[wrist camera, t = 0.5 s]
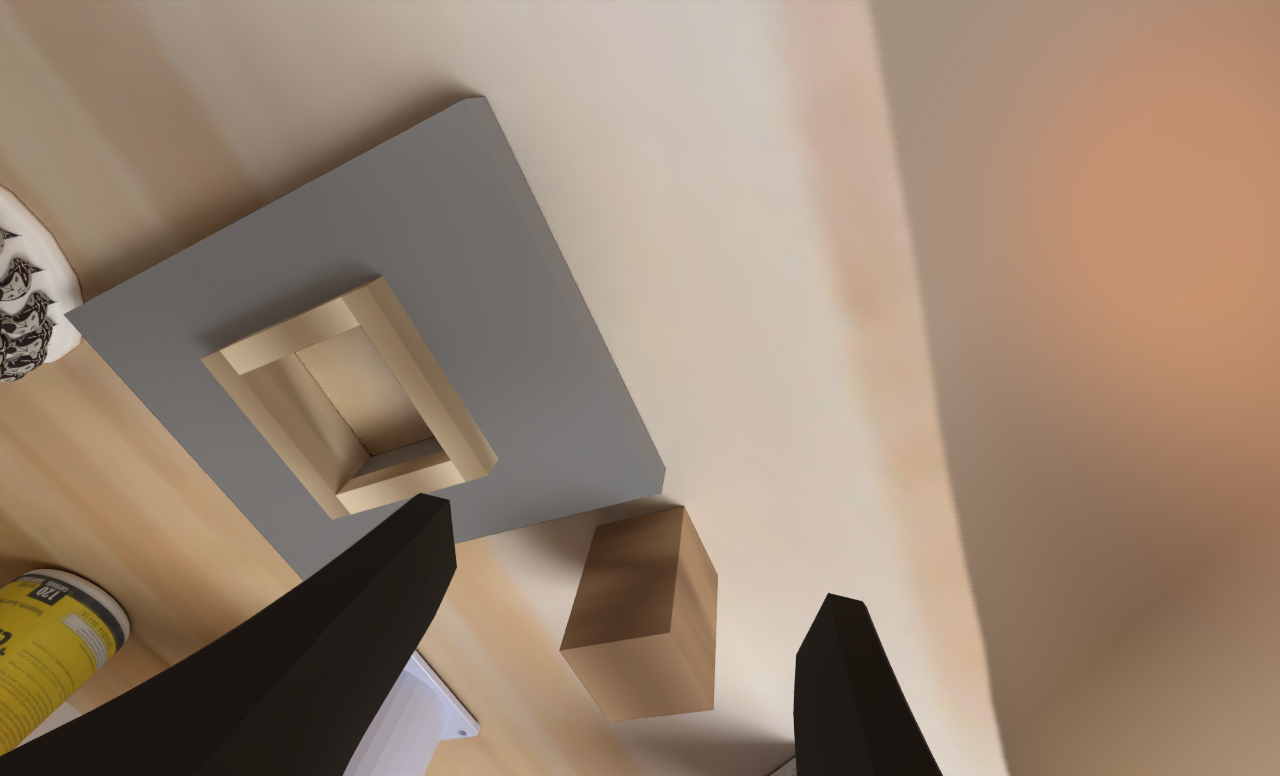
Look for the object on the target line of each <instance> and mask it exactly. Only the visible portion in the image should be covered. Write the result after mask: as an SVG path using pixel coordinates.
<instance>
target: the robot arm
mask: <svg viewBox="0 0 1280 776" xmlns="http://www.w3.org/2000/svg"><path fill="white" fill-rule="evenodd" d="M456 568H457V564H456V554H455V544H454V535H453V525H452V515H451V506H450V500H448V499H444V498H440V497H436V496H432V495H428V494H424V493H419V494H417V495H415V496H414V497H413V498H411V499H410V500H409V501H408V502H406V503H405V504H404V505H403V506H401V507H400V508H399V509H398V510H396V511H395V512H394V513H393V514H391V515H390V516H389V517H388V518H386V519H385V520H384V521H383V522H381V523H380V524H379V525H377V526H376V527H375V528H374V529H372V530H371V531H370V532H369V533H367V534H366V535H365V536H363V537H362V538H361V539H360V540H358V541H357V542H356V543H354V544H353V545H352V546H351V547H349V548H348V549H347V550H345V551H344V552H343V553H341V554H340V555H339V556H337V557H336V558H335V559H333V560H332V561H331V562H329V563H328V564H327V565H325V566H324V567H323V568H321V569H320V570H318V571H317V572H316V573H314V574H313V575H312V576H310V577H309V578H308V579H306V580H305V581H303V582H302V583H301V584H299V585H298V586H296V587H295V588H293V589H292V590H291V591H289V592H288V593H286V594H285V595H283V596H282V597H280V598H279V599H277V600H276V601H275V602H273V603H272V604H270V605H269V606H267V607H266V608H264V609H263V610H262V611H260V612H259V613H257V614H256V615H254V616H253V617H251V618H250V619H248V620H247V621H245V622H243V623H242V624H240V625H239V626H237V627H236V628H234V629H233V630H231V631H230V632H228V633H226V634H225V635H223V636H222V637H220V638H218V639H217V640H215V641H214V642H212V643H210V644H209V645H207V646H205V647H204V648H202V649H200V650H199V651H197V652H195V653H194V654H192V655H191V656H189V657H187V658H185V659H184V660H182V661H180V662H179V663H177V664H175V665H173V666H172V667H170V668H168V669H166V670H165V671H163V672H161V673H159V674H157V675H156V676H154V677H152V678H150V679H149V680H147V681H145V682H143V683H142V684H140V685H138V686H136V687H135V688H133V689H131V690H129V691H127V692H125V693H124V694H122V695H120V696H118V697H116V698H114V699H112V700H111V701H109V702H107V703H105V704H103V705H101V706H99V707H97V708H96V709H94V710H92V711H90V712H88V713H86V714H84V715H82V716H80V717H78V718H76V719H74V720H72V721H70V722H68V723H66V724H64V725H62V726H60V727H58V728H56V729H54V730H52V731H50V732H48V733H46V734H44V735H42V736H40V737H38V738H36V739H34V740H32V741H30V742H28V743H26V744H24V745H22V746H20V747H18V748H16V749H14V750H12V751H10V752H7V753H5V754H3V755H1V756H0V776H424V775H425V772H426V770H427V768H428V765H429V763H430V761H431V759H432V756H433V754H434V752H435V749H436V747H437V745H438V743H439V741H440V740H449V739H458V738H466V737H474V736H477V735H478V732H479V730H480V726H479V724H478V723H477V722H476V721H475V720H474V719H473V717H472V716H471V715H470V714H469V713H468V711H467V710H466V709H465V708H464V707H463V706H462V704H461V703H460V702H459V701H458V700H457V699H456V697H455V696H454V695H453V694H452V693H451V691H450V690H449V689H448V688H447V687H446V686H445V684H444V683H443V682H442V681H441V680H440V678H439V677H438V676H437V675H436V674H435V673H434V671H433V670H432V669H431V668H430V667H429V666H428V664H427V663H426V662H425V661H424V660H423V658H422V657H421V656H420V655H419V654H418V653H417V651H416V650H415V649H416V647H417V646H418V644H419V642H420V641H421V639H422V637H423V636H424V634H425V632H426V631H427V629H428V627H429V625H430V624H431V622H432V620H433V619H434V617H435V615H436V612H437V610H438V608H439V606H440V604H441V602H442V600H443V597H444V595H445V593H446V591H447V589H448V586H449V584H450V582H451V579H452V577H453V575H454V573H455V570H456ZM793 716H794V736H795V754H796V771H797V776H943V775H942V773H941V771H940V769H939V767H938V765H937V763H936V761H935V759H934V757H933V755H932V753H931V751H930V749H929V747H928V745H927V743H926V741H925V739H924V736H923V734H922V732H921V730H920V728H919V726H918V724H917V722H916V720H915V718H914V716H913V714H912V712H911V709H910V707H909V705H908V703H907V701H906V699H905V696H904V694H903V692H902V690H901V688H900V685H899V683H898V681H897V679H896V676H895V674H894V672H893V669H892V667H891V665H890V663H889V660H888V658H887V656H886V653H885V651H884V649H883V646H882V644H881V641H880V639H879V637H878V634H877V632H876V629H875V627H874V624H873V622H872V619H871V617H870V614H869V612H868V609H867V607H866V606H865V604H864V603H863V601H859V600H855V599H851V598H847V597H843V596H838V595H834V594H830V593H828V595H827V596H826V598H825V600H824V602H823V604H822V606H821V608H820V610H819V612H818V614H817V616H816V618H815V620H814V622H813V623H812V625H811V627H810V629H809V631H808V633H807V635H806V637H805V639H804V641H803V643H802V645H801V647H800V649H799V651H798V652H797V654H796V669H795V686H794V711H793Z"/></svg>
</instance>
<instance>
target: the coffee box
mask: <svg viewBox="0 0 1280 776" xmlns="http://www.w3.org/2000/svg"><path fill="white" fill-rule="evenodd" d="M770 776H797V771H796V757H795V758H794V759H792V760H791V761H790V762H788V763H787V764H785V765H784V766H782V767H781V768H780V769H778V770H777V771H776V772H774V773H773V774H771V775H770Z"/></svg>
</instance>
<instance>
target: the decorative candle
mask: <svg viewBox="0 0 1280 776" xmlns="http://www.w3.org/2000/svg"><path fill="white" fill-rule="evenodd" d="M82 304H84V301H83V297H82V293H81V289H80V285H79V281H78V277H77V275H76V274H75V272H74V270H73V269H72V267H71V265H70V264H69V262H68V260H67V259H66V257H65V255H64V254H63V252H62V250H61V249H60V247H59V245H58V244H57V242H56V240H55V239H54V237H53V235H52V234H51V233H50V232H49V231H48V230H47V229H46V228H45V227H44V225H43V224H42V223H41V222H40V221H39V220H38V219H37V218H36V217H35V216H34V215H33V214H32V213H31V212H30V211H29V210H28V209H27V208H26V207H25V206H24V205H23V204H22V203H21V202H20V200H19V199H18V198H17V197H16V196H15V195H14V194H13V193H12V192H10V191H9V190H7V189H6V188H4V187H3V186H1V185H0V382H11V381H15V380H18V379H20V378H22V377H24V376H25V375H26V373H27V372H28V371H32V370H34V369H36V368H37V367H39V366H40V365H41V364H42V363H48V362H54V361H56V360H58V359H60V358H62V357H63V356H64V355H66V354H67V353H68V352H70V351H71V350H72V349H74V348H75V347H76V346H78V345H79V344H80V342H81V338H82V335H81V334H80V333H79V332H78V330H77V329H76V328H75V327H74V326H73V325H72V324H71V323H70V322H69V320H68V319H67V318H66V317H65V316H64V315H63V314H65V313H67V312H69V311H71V310H72V309H74V308H76V307H78V306H80V305H82Z"/></svg>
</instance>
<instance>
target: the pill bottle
mask: <svg viewBox="0 0 1280 776" xmlns="http://www.w3.org/2000/svg"><path fill="white" fill-rule="evenodd" d="M129 633H130V625H129V621H128V618H127V616H126V614H125V613H124V611H123V610H122V608H121V607H120V606H119V604H118V603H117V602H116V601H115V600H114V599H113V598H112V597H111V596H110V595H108V594H107V593H106V592H104V591H103V590H102V589H100V588H99V587H98V586H96V585H94V584H93V583H91V582H89V581H87V580H85V579H83V578H81V577H78V576H76V575H73V574H70V573H67V572H64V571H60V570H53V569H38V570H33V571H30V572H27V573H25V574H23V575H21V576H19V577H18V578H16V579H15V580H13V581H12V582H10V583H9V584H7V585H6V586H5V587H3V588H2V589H0V756H1V755H3V754H5V753H7V752H10V751H12V750H13V749H14V748H15V747H17V746H18V745H19V744H20V743H21V742H22V741H23V740H24V739H25V738H26V737H27V736H28V735H29V734H30V733H31V732H33V731H34V730H35V729H36V728H37V727H38V726H39V725H40V724H41V723H42V722H43V721H44V720H45V719H46V718H47V717H49V715H51V714H52V713H53V712H54V711H55V710H56V709H57V708H58V707H59V706H60V705H61V704H62V703H63V702H64V701H66V700H67V699H68V698H69V697H70V696H71V695H72V694H73V693H74V692H75V691H76V690H77V689H78V688H79V687H80V686H81V685H82V684H83V683H84V682H85V681H87V680H88V679H89V678H90V677H91V676H92V675H93V674H94V673H95V672H96V671H97V670H98V669H99V668H100V667H101V666H102V665H103V664H104V663H106V662H107V661H108V660H109V659H110V658H111V657H112V656H113V655H114V654H115V653H116V652H117V651H118V650H119V649H120V648H121V647H122V646H123V645H124V644H125V642H126V641H127V639H128V637H129Z"/></svg>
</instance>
